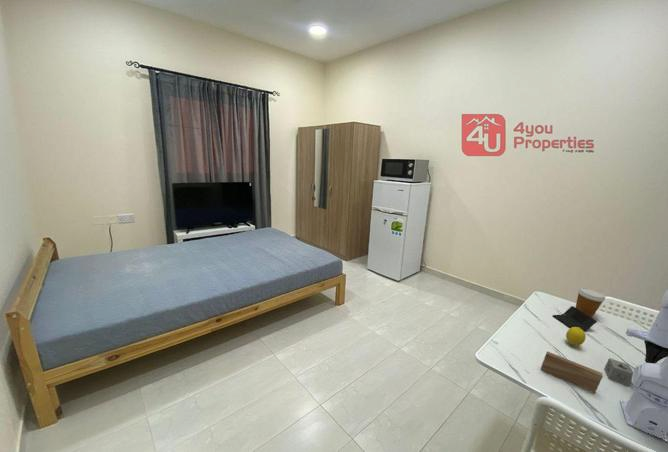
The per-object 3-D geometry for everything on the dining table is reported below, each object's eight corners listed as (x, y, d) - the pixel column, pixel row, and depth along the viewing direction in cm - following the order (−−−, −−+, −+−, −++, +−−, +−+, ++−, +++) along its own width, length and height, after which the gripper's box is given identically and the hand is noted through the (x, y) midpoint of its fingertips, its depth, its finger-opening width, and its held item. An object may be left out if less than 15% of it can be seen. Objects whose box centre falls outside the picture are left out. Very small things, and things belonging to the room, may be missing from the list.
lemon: (584, 351, 105) (592, 333, 103) (568, 348, 106) (575, 331, 104) (575, 341, 110) (582, 324, 108) (560, 338, 111) (566, 321, 109)
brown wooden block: (594, 393, 87) (602, 376, 85) (540, 370, 94) (547, 353, 92) (594, 390, 88) (602, 373, 86) (540, 367, 96) (547, 351, 93)
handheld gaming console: (550, 314, 125) (567, 299, 123) (554, 319, 128) (571, 305, 127) (576, 334, 115) (596, 318, 113) (580, 339, 119) (599, 324, 117)
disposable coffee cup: (587, 322, 123) (596, 299, 120) (565, 309, 132) (573, 287, 128) (602, 319, 126) (611, 297, 122) (579, 307, 135) (588, 286, 131)
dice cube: (608, 379, 93) (614, 367, 91) (603, 369, 97) (609, 358, 95) (628, 386, 91) (634, 374, 89) (622, 375, 95) (628, 364, 93)
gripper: (698, 331, 83) (677, 367, 87) (631, 312, 91) (615, 345, 95) (709, 344, 77) (686, 381, 82) (636, 322, 85) (619, 357, 90)
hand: (648, 363), depth 88 cm, fingers closed
